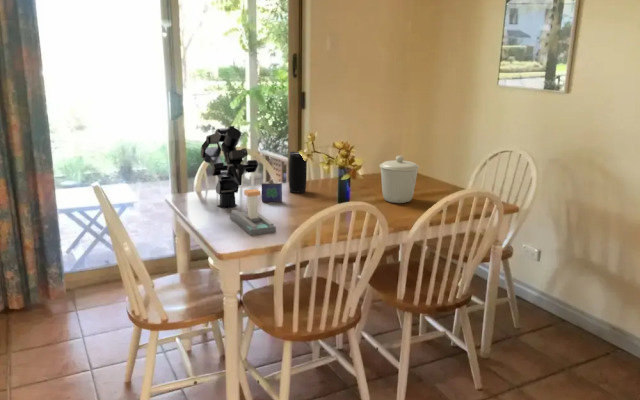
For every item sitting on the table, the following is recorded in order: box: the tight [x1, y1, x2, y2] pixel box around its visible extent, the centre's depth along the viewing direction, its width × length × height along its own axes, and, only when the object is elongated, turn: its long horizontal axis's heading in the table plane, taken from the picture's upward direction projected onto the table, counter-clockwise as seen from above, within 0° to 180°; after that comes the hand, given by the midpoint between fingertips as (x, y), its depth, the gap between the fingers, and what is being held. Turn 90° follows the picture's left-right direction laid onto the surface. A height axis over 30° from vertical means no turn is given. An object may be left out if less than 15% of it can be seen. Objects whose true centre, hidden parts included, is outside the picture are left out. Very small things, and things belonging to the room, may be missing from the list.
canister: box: [379, 155, 420, 204], centre depth 248 cm, size 18×18×21 cm
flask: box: [261, 178, 283, 204], centre depth 245 cm, size 9×3×11 cm, turn 95°
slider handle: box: [243, 188, 261, 222], centre depth 209 cm, size 5×5×12 cm
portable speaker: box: [288, 150, 308, 194], centre depth 262 cm, size 9×9×20 cm
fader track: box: [229, 208, 277, 236], centre depth 212 cm, size 24×10×3 cm, turn 28°
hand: (240, 184), depth 219 cm, fingers closed
